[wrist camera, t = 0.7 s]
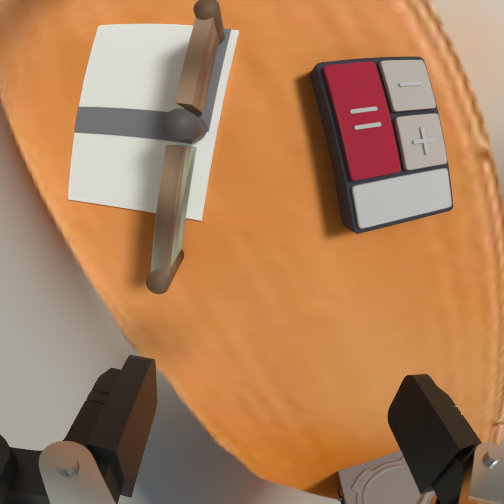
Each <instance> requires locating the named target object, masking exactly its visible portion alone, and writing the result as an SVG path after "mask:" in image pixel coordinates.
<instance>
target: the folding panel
mask: <svg viewBox="0 0 504 504" xmlns="http://www.w3.org/2000/svg"><path fill="white" fill-rule="evenodd" d="M196 151H197V147H192V146H185V145H166V147H165V153H164V159H163V166H162V172H161V179H160V186H159V194H158V202H157V210H156V219H155V228H154V238H153V248H152V260H151V272H150V274H149V275H148V277H147V279H146V284H147V287H148V289H149V290H150V291H151V292H153V293H155V294H163V293H165V292H166V291H167V290H168V288H169V286H170V284H171V282H172V280H173V278H174V276H175V274H176V272H177V270H178V268H179V266H180V264H181V262H182V260H183V258H184V253H183V250H182V242H183V234H184V227H185V220H186V213H187V206H188V199H189V193H190V186H191V180H192V174H193V168H194V162H195V156H196Z"/></svg>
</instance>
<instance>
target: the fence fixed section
mask: <svg viewBox="0 0 504 504" xmlns="http://www.w3.org/2000/svg"><path fill="white" fill-rule="evenodd" d="M194 13H195V15H196V18H195V22H194V26H193V29H192V33H191V37H190V40H189V44H188V48H187V52H186V56H185V60H184V65H183V69H182V73H181V77H180V82H179V87H178V91H177V96H176V101H175V103H176V104H178V105H180V106H181V107H183V108H184V109H181V108H178V109H174V110H171V111H170V112H169V113H167V114H166V116H165V117H164V119H163V123H162V128H163V131H164V133H165V135H166V136H167V137H168V138H170V139H172V140H177V141H188V142H197V141H200V140H201V139H203V138H204V136H205V135H206V132H207V127H206V124H205V122H204V121H203V120H201V119H200V118H198V117H197V116H195V115H194V114H192V113H190V112H195V113H202V114H203V113H204V108H205V104H206V99H207V94H208V89H209V85H210V80H211V76H212V71H213V67H214V63H215V58H216V54H217V50H218V46H219V44H221V43H222V42H223V41H224V38H225V34H224V29H223V23H222V18H221V12H220V6H219V3H218V2H217V1H216V0H199V1H198V2H197V3H196V4H195V5H194ZM185 109H186V110H185ZM187 110H188V111H187Z"/></svg>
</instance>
